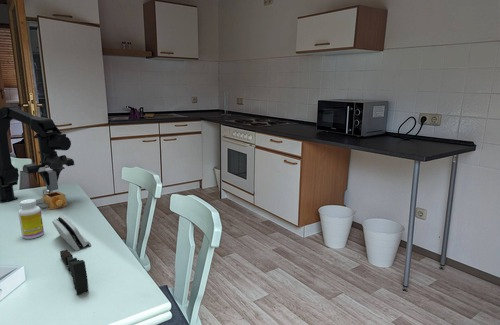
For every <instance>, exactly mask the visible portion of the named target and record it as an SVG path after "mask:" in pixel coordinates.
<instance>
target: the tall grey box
mask: <svg viewBox="0 0 500 325" xmlns="http://www.w3.org/2000/svg"><path fill="white" fill-rule="evenodd" d="M47 171H48V172H47V177H48V181H49V186H47V185H46V184H45V185H46V189H48V190H50V191H53V192H54V191H58V190H59V182H57V175H56V171H54V170H52V169H50V170H47Z"/></svg>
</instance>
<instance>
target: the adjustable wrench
mask: <svg viewBox="0 0 500 325" xmlns="http://www.w3.org/2000/svg"><path fill="white" fill-rule="evenodd" d="M59 252H60V253H59V254H60V255H59V256H60V258H61V260H62V262H63V263H64V264H65V266H67V271H68V272H70V276H71V279H72V281H73V287H74V290H75V293H76V295H77V296H80V295H83V294H86V293H89V284H88V283H89V282H88V281H89V280H88V273H87V267H86V262H85V260H83V259H78V258H77V257H73V254H72V253H71V252H70V251H69V250H68V249H64V250H60V251H59Z"/></svg>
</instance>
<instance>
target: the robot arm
mask: <svg viewBox="0 0 500 325" xmlns="http://www.w3.org/2000/svg"><path fill="white" fill-rule="evenodd" d="M13 120H15V121H18V122H19V123H22V124H24V125H27V126H29V128H30V130H31V131H33V132H34V133H35V135H34V136H33V139H37V142H38V144H37V145H38V149H39V151H38V152H37V153H38V155H39V156H40V160H39V164H35V163H28V164H27V163H26V164H24V165H23V166H22V172H23V173H25V174H35V173H37V174H39V176H40V177H41V179H42V180H43V181H44V182H43V183H45V185H47V186H49V181H48V177H47V172H48V170H46V169H47V168H49V169H50V170H54V171H56V175H57V183H59V182H58V181H59V179H60V174H61V172H62V171H63V170H65V168H66V167H71V166H75V161H74V159H73V158H70V157H67V155H65V154H63V155H58V152H57V151H68V150H70V148H71V146H72V141H71V139H70V138H69V137H68V136H67V134H66V133H62V132H61V131H60V129H59V128H58V127H57V125H56V123H55V122H54V120H53V119H51V118H48V117H44V116H43V117H41V116H37V115H33V114H32V113H29V112H27V111H25V110H24V109H23V110H22V109H20V108H19V107H17V106H15V105H7V106H6V105H5V106H3V107H1V108H0V203H5V202H10V201H15V200H18V199H19V197H17V196H15V191H14V186H16V185H18V181H19V177H20V174H19V168H18V167H15V166H14V165H13V164H12V158H11V150H10V144H9V143H10V142H9V136H8V131H9V130H10V128H11V121H13ZM64 165H65V166H66V167H64ZM47 186H46V187H47Z"/></svg>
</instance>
